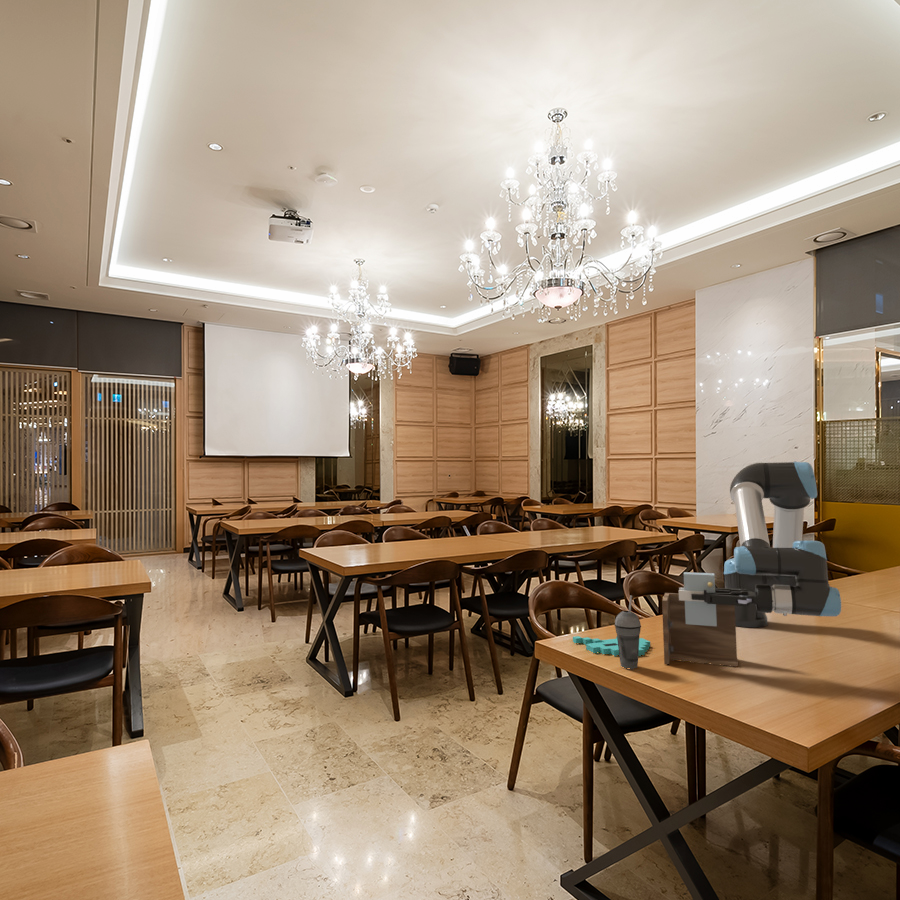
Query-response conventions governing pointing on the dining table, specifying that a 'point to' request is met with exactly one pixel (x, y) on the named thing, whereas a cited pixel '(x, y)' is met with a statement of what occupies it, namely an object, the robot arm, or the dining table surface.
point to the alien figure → (609, 645)
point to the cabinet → (698, 635)
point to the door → (694, 609)
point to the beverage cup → (628, 637)
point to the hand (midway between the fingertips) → (679, 593)
